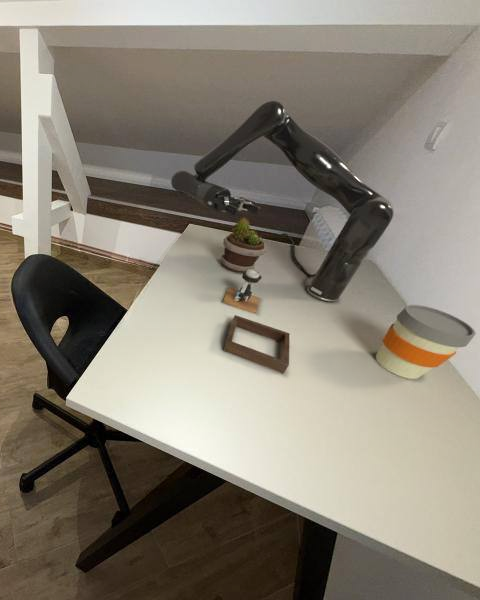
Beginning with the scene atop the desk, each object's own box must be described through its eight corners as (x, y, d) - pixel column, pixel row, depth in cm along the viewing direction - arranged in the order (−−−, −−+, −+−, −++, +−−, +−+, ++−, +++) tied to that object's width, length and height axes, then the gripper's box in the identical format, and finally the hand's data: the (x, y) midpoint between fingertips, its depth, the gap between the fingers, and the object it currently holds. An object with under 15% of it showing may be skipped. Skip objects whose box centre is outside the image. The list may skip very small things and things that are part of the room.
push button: (241, 306, 97) (253, 278, 92) (226, 297, 101) (237, 270, 95) (253, 301, 100) (266, 274, 95) (239, 293, 104) (250, 266, 98)
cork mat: (227, 289, 106) (227, 288, 106) (258, 298, 103) (259, 297, 102) (222, 302, 99) (223, 301, 99) (256, 313, 95) (256, 312, 95)
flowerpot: (250, 261, 126) (271, 213, 115) (259, 279, 114) (283, 227, 103) (213, 255, 128) (230, 208, 117) (218, 272, 116) (237, 221, 105)
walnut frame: (231, 323, 90) (234, 314, 89) (284, 341, 85) (289, 333, 83) (223, 350, 80) (227, 341, 78) (283, 373, 75) (289, 365, 73)
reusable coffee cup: (428, 366, 81) (474, 321, 72) (430, 393, 73) (481, 346, 64) (369, 342, 87) (404, 298, 79) (364, 364, 80) (403, 318, 71)
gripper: (198, 185, 102) (233, 200, 90) (232, 184, 107) (270, 198, 94) (192, 207, 106) (225, 225, 94) (225, 206, 111) (260, 222, 98)
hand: (247, 211), depth 94 cm, fingers open, 8 cm apart
